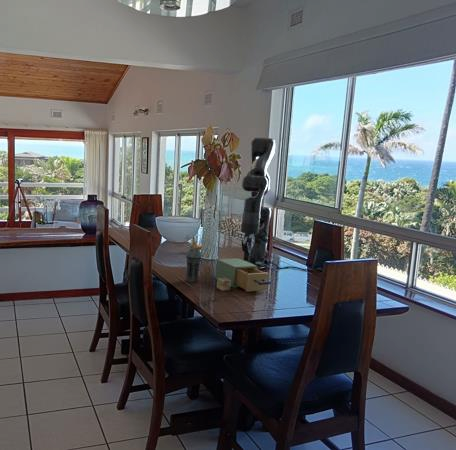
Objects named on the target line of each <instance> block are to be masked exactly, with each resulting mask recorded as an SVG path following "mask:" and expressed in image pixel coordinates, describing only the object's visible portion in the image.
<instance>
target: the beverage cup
mask: <svg viewBox="0 0 456 450" xmlns="http://www.w3.org/2000/svg"><path fill="white" fill-rule="evenodd" d="M195 241H196V240H195V238H194V239H193V244H194V245H193V244H192V245H193V248H192V249H191V248H190V249H189V250H188V251H187V253H186V255H185V257H186V281H187V282H188V283H197V282H198V278H199V273H200V266H201V262H202V259H203V255H202V251H201V250H199V249H197V248H195Z"/></svg>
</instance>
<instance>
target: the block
mask: <svg viewBox="0 0 456 450" xmlns="http://www.w3.org/2000/svg"><path fill="white" fill-rule="evenodd" d="M231 288H232V287H231V280H229V279H227V278H217V279H216V289H218V290H220V291H231Z"/></svg>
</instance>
